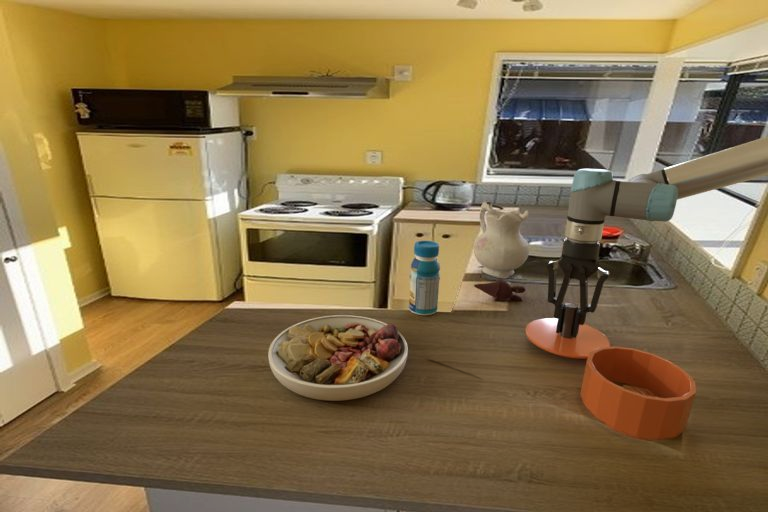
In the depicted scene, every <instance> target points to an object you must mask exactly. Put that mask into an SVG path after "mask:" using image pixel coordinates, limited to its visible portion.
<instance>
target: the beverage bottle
mask: <svg viewBox="0 0 768 512" xmlns="http://www.w3.org/2000/svg"><path fill="white" fill-rule="evenodd" d="M439 253H440V244H439V243H438V242H436V241H433V240H432V241H431V240H418V241H416V242H415V243H414V247H413V254H414V256H415V257H414V258H413V260H412V261H411V264H410V269H411V271H410V273H409V301H408V310H409V311H410V312H411V313H412V314H414V315H416V316H417V315H418V316H432V315H434V314H436V313H437V311H438V304H439V303H438V302H439V289H440V280H441V274H440V271H441V265H440V261H439V260H438V258H437V257H439Z"/></svg>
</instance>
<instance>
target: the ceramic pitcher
mask: <svg viewBox="0 0 768 512" xmlns="http://www.w3.org/2000/svg"><path fill="white" fill-rule="evenodd" d="M492 203H493V201H492V200H487V199H484V200H483V201H482V204H481V206H480V210H479V223H480V228H481V231H482V233H481V234H480V235H478V236H477V237H475V239H474V242H473V254H474V257H475V259H476V261H477V262H478V263H479V264H480V265H481V266H483V267H482V268H481V270H480V271H481V273H483V274H486V275H489V276H491V277H493V278H497V279H508V278H510V277H511V276H513V275H515V270H517V269H519V268H520V267H522V266H523V265H524V264H525V262H526V261H527V260H528V258H529V255H530V250H531V249H530V248H531V247H530V243H529V242H528V241H527V239H525V238H524V237H523V236H522V234H521V227H522V224H523V223H524V222H525V221H526V220H527V219H528V217H529V210H525V211H524V213H521V212H520V211H519V210H518V211H517V210H511V211H506V212H504V211H500V210H495V209H494V208H493V204H492Z"/></svg>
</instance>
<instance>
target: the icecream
mask: <svg viewBox="0 0 768 512" xmlns="http://www.w3.org/2000/svg"><path fill="white" fill-rule="evenodd" d="M473 287H474V288H476V289H478V290H479V291H481V292H483V293H485V294H487V295H488V296H490V297H492V298H494V301H495V302H497V301H498V302H505V301H508V300H509V299H510V300H511V301H515V302H522V301H523V298H522V296H520V295H518V294H524V293H525V292H526V287H524V286H523V285H515V286H511V284H510V283H509V282H507V281H506V280H503V279H501V278H498V280H496V281H492V282H485V283H477V284H473Z"/></svg>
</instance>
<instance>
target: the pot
mask: <svg viewBox="0 0 768 512" xmlns="http://www.w3.org/2000/svg"><path fill="white" fill-rule="evenodd" d="M616 383H623V384H626V385H629V386H634V387H639V388H643V389H648V390H650V391H651V392H653V394H654V395H656V396H657V397H651V396H645V395H642V394H639V393H636V392H633V391H629V390H626V389H624V388H622V387H620V386H621V385H618V384H616ZM579 395H580V397H581V400H582V403H583V405H584V406H585V408H587V410H589V412H591V413H592V415H593V416H595V417H596V418H597V419H598V420H600V421H599V422H600V423H601V424H603V426H606V427H607V428H609V429H610V430H613V431H616V432H618V433H620V434H622V435H625V436H627V437H631V438H634V439H638V440H642V441H648V442H652V439H653V440H658V441H659V440H667V439H673V438H674V439H675V438H677V437H678V436H679V435H681V433H683V432H684V431H685V430H686V427H687V424H688V420H689V417H690V414H691V410H692V408H693V404H694V400H695V397H696V395H697V383H696V382H695V380H694V379H693V378H692V376H691V375H690V374H689V372H687V371H686V370H684V369H683V368H681V367H679V366H678V365H677V364H675V363H673V361H671V360H668V359H666V358H663V357H661V356H659V355H658V354H655V353H652V352H648V351H644V350H641V349H637V348H633V347H625V346H617V345H615V346H613V345H612V346H610V347H600V348H598V349H596V350H594V351H592V352H590V354H589V356H588V359H586V362H585V368H584V373H583V377H582V383H581V388H580V393H579Z"/></svg>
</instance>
